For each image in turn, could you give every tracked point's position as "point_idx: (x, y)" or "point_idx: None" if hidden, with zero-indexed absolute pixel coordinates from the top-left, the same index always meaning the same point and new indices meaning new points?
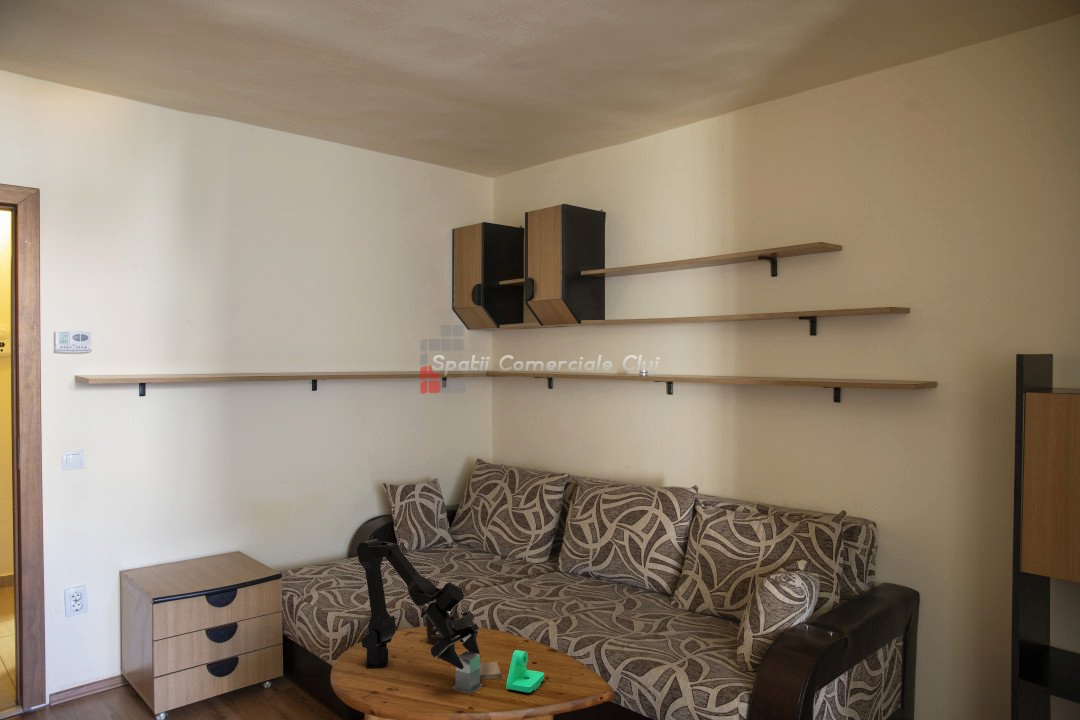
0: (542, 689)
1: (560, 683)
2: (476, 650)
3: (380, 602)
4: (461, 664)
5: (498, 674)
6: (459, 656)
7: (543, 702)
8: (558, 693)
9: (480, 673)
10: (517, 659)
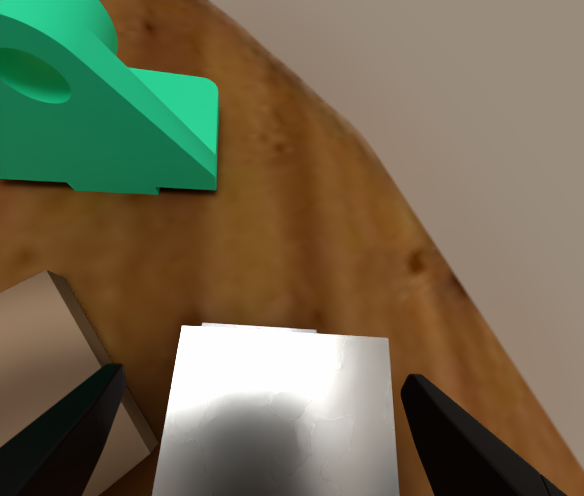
0: None
1: None
2: (63, 449)
3: None
4: (444, 396)
5: (56, 285)
6: None
7: (251, 63)
8: (156, 33)
9: None
10: (102, 42)
